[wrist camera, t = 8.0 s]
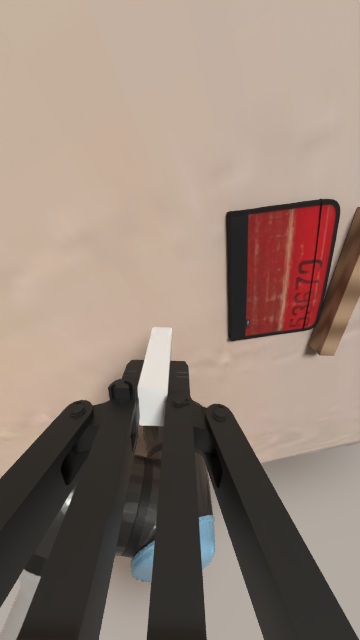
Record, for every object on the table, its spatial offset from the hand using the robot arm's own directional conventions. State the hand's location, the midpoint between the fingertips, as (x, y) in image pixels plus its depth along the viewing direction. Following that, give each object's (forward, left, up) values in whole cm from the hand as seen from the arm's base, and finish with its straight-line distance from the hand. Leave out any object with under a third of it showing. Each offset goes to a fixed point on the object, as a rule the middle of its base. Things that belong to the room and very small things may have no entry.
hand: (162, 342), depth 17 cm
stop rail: (0, -28, -19) cm, 34 cm away
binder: (+1, -17, -20) cm, 27 cm away
